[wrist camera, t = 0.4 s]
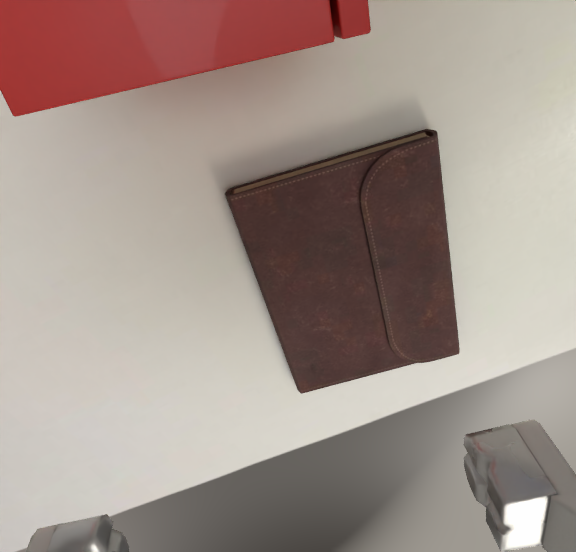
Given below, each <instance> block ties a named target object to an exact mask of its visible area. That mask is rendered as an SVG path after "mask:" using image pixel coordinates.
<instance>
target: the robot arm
mask: <svg viewBox="0 0 576 552" xmlns="http://www.w3.org/2000/svg"><path fill="white" fill-rule="evenodd" d="M464 446H465V448H466V450H467V452H468V453H467V454H466V456H465V457H464V467H465V471H466V475H467V479H468V482H469V484H470V487H471V490H472V492H473V494H474V496H475V498H476V500H477V501H478V502H479V503H481V504H482V505H484V506H485V507H486V522H487V524H488V526H489V528H490V530H491V532H492V534H493V536H494V539H495V541H496V543H497V545H498V547H499V549H500V551H501V552H506V551H512V550H517V549H523V548H527V547H534V546H539V545H543V546H542V547H543V548H544V549H545V550H546V551H547V552H576V474H575V473H574V471H573V470H572V468H571V467H570V466H569V464H568V463H567V461H566V460H565V459H564V457H563V456H562V454H561V453H560V451H559V450H558V449H557V447H556V446H555V444H554V443H553V442H552V440H551V439H550V437H549V436H548V434H547V433H546V432H545V430H544V429H543V428H542V426H541V425H540V423H538V422H537V421H535V420H528V421H524V422H520V423H515V424H511V425H504V426H500V427H496V428H492V429H488V430H483V431H479V432H475V433H471V434H466V435H465V437H464ZM112 526H113V521H112V520H111V519H110V518H109V516H108V515H107V514H106V515H101V516H96V517H92V518H87V519H82V520H78V521H73V522H68V523H63V524H57V525H53V526H48V527H44V528H40V529H37V531H36V532H35V533H34V535H33V536H32V537H31V539H30V542H29V545H28V547H27V550H26V552H129V546H128V543H127V540H126V538H125V536H124V535H123V534H122V533H121V532H119V531H117V530H114V529H112Z"/></svg>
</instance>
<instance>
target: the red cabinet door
mask: <svg viewBox="0 0 576 552" xmlns="http://www.w3.org/2000/svg"><path fill="white" fill-rule="evenodd" d="M329 1H330V9H331V16H332V24H333V31H334V36H336V37H339V38H342V39H346V38H350V37H355V36H359V35H363V34H367V33H369V32H370V30H371V29H370V18H369V8H368V0H329Z"/></svg>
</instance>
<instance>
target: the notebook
mask: <svg viewBox="0 0 576 552" xmlns="http://www.w3.org/2000/svg"><path fill="white" fill-rule="evenodd" d="M225 195H226V198H227V201H228V203H229V206H230V209H231V211H232V214H233V217H234V219H235V222H236V225H237V228H238V230H239V233H240V236H241V238H242V241H243V244H244V246H245V249H246V252H247V254H248V257H249V260H250V263H251V265H252V268H253V271H254V273H255V276H256V279H257V281H258V284H259V287H260V290H261V292H262V295H263V298H264V300H265V303H266V306H267V308H268V311H269V314H270V316H271V319H272V322H273V325H274V327H275V330H276V333H277V335H278V338H279V341H280V343H281V346H282V349H283V351H284V354H285V357H286V360H287V362H288V365H289V368H290V370H291V373H292V376H293V378H294V381H295V384H296V386H297V389H298V391H299V392H300V393H305V392H309V391H313V390H317V389H320V388H324V387H328V386H332V385H336V384H339V383H343V382H347V381H351V380H354V379H358V378H362V377H366V376H369V375H373V374H377V373H381V372H384V371H388V370H392V369H396V368H399V367H403V366H407V365H411V364H414V363H424V362H430V361H435V360H438V359H442V358H445V357H449V356H453V355H456V354H459V340H458V330H457V320H456V311H455V301H454V291H453V281H452V272H451V262H450V252H449V242H448V233H447V223H446V213H445V203H444V194H443V184H442V174H441V164H440V155H439V145H438V135H437V132H436V131H434V130H428V129H426V130H422V131H419V132H416V133H412V134H409V135H406V136H402V137H399V138H396V139H392V140H389V141H386V142H382V143H379V144H376V145H372V146H369V147H366V148H362V149H359V150H356V151H352V152H349V153H346V154H342V155H339V156H336V157H333V158H329V159H326V160H323V161H319V162H316V163H313V164H309V165H306V166H303V167H299V168H296V169H293V170H289V171H286V172H283V173H279V174H276V175H273V176H269V177H266V178H263V179H259V180H256V181H253V182H249V183H246V184H243V185H239V186H236V187H233V188H230V189H228V190H227V191H226V193H225Z"/></svg>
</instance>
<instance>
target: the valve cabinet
mask: <svg viewBox="0 0 576 552" xmlns="http://www.w3.org/2000/svg"><path fill="white" fill-rule="evenodd" d="M331 42H334V31H333V24H332V16H331V9H330V1H329V0H0V90H1V92H2V94H3V96H4V98H5V100H6V102H7V104H8V106H9V108H10V110H11V112H12V114H13V116H20V115H25V114H29V113H33V112H37V111H42V110H46V109H50V108H54V107H59V106H63V105H67V104H72V103H76V102H80V101H84V100H89V99H93V98H97V97H101V96H106V95H110V94H114V93H118V92H123V91H127V90H131V89H135V88H140V87H144V86H148V85H152V84H157V83H161V82H165V81H170V80H174V79H178V78H182V77H187V76H191V75H195V74H199V73H204V72H208V71H212V70H216V69H221V68H225V67H229V66H233V65H238V64H242V63H246V62H250V61H255V60H259V59H263V58H268V57H272V56H276V55H280V54H285V53H289V52H293V51H297V50H302V49H306V48H310V47H314V46H319V45H323V44H327V43H331Z"/></svg>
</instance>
